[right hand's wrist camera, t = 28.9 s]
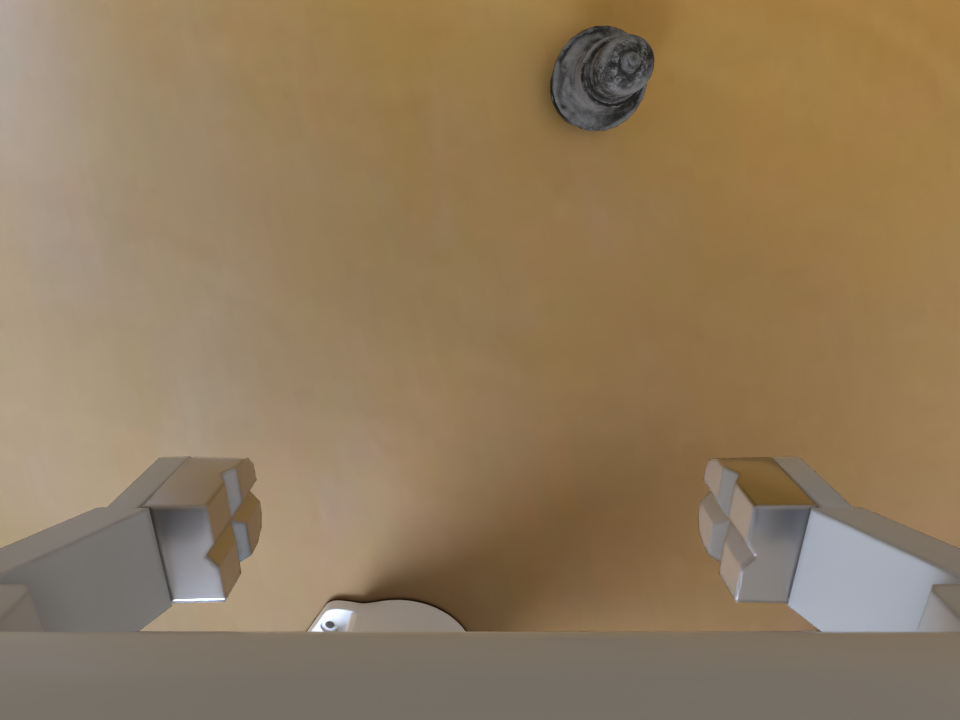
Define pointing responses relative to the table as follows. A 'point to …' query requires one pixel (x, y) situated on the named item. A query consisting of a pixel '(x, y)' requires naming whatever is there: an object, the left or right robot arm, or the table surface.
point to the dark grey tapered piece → (601, 77)
